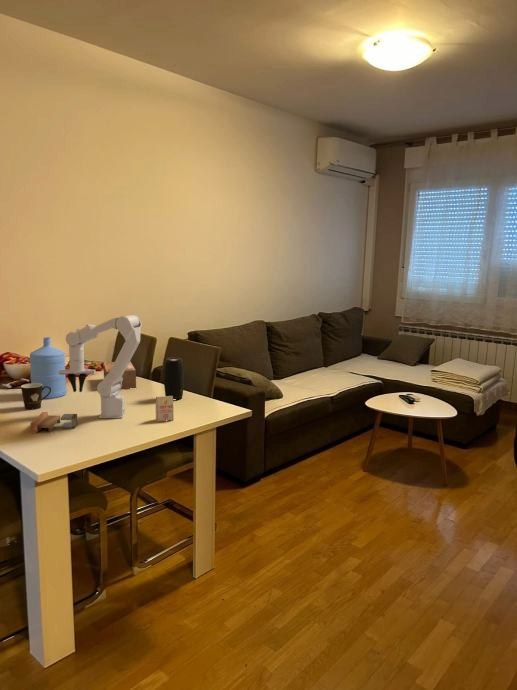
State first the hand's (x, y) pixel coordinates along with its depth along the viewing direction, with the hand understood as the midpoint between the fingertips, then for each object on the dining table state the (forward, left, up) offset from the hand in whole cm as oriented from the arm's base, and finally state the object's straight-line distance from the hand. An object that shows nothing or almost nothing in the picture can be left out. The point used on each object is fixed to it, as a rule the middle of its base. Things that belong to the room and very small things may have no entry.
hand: (77, 391), depth 211 cm
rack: (+7, +19, -9) cm, 22 cm away
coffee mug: (+20, -9, -10) cm, 24 cm away
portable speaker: (-39, -22, -10) cm, 46 cm away
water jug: (+21, -31, -10) cm, 39 cm away
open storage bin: (-1, +19, -10) cm, 21 cm away
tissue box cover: (-8, -54, -10) cm, 55 cm away
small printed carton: (-37, +12, -10) cm, 40 cm away
